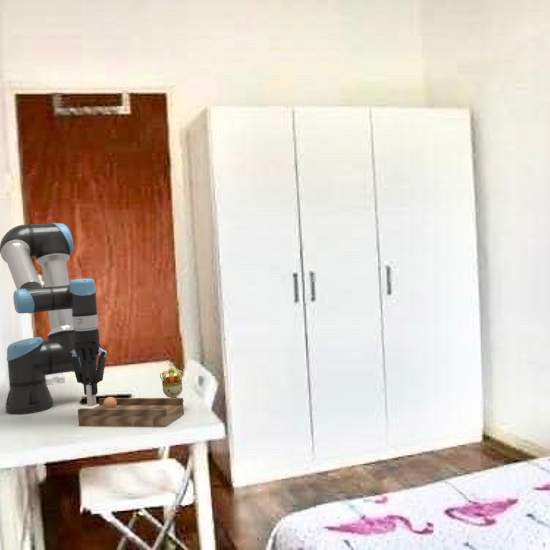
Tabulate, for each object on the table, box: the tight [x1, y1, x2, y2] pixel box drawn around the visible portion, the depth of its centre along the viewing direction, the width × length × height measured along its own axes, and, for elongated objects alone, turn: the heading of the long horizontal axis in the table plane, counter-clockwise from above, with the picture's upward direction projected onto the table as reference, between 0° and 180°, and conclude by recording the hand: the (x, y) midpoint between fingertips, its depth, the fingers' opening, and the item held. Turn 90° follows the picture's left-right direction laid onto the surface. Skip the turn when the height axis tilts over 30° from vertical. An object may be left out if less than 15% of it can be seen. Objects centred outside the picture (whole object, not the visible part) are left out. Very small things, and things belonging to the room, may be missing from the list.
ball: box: [103, 396, 117, 409], centre depth 211 cm, size 4×4×4 cm
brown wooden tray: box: [77, 397, 185, 428], centre depth 210 cm, size 28×14×5 cm, turn 76°
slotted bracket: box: [46, 372, 66, 386], centre depth 279 cm, size 13×7×8 cm, turn 24°
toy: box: [159, 362, 184, 403], centre depth 219 cm, size 7×7×15 cm
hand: (91, 405), depth 213 cm, fingers closed
